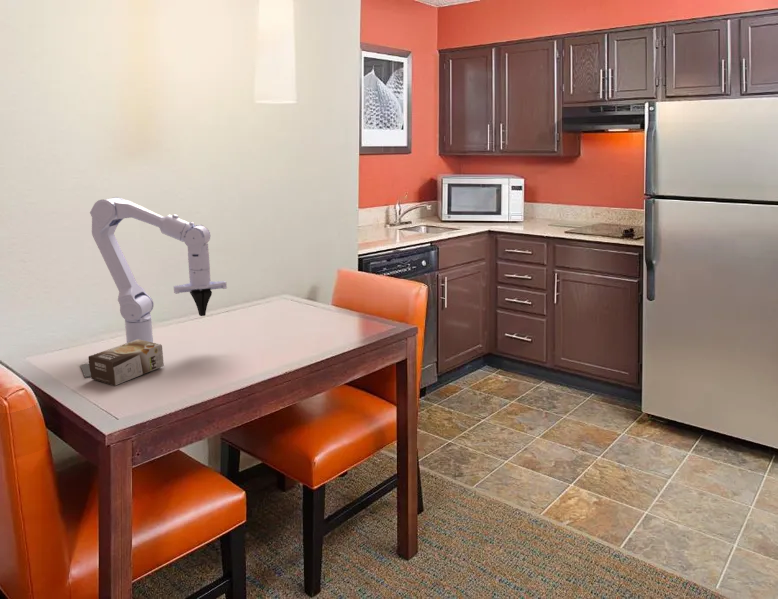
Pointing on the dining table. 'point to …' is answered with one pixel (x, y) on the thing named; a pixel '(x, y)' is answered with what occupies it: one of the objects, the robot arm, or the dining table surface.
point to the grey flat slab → (86, 370)
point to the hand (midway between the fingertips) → (202, 315)
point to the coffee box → (126, 362)
